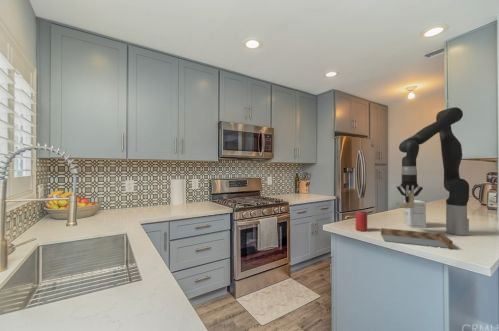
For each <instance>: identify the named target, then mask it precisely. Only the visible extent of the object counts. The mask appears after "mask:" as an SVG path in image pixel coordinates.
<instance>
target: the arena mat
mask: <svg viewBox="0 0 499 331" xmlns="http://www.w3.org/2000/svg"><path fill="white" fill-rule="evenodd" d="M380 236H381V237H382V239H383V241H384V242H387V243H396V244H403V245H413V246H422V247H430V246H431V248H438V247H440V249H441V248H442V249H447V248H448V247H447V246H446V245H445V244H443V243H442V242H441V241H440V240H431V239H421V238H411V237H401V236H392V235H382V234H381V233H380Z"/></svg>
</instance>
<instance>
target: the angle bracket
mask: <svg viewBox="0 0 499 331" xmlns="http://www.w3.org/2000/svg"><path fill="white" fill-rule="evenodd" d="M414 198H415V196H414V194H411V193H410V192H409V193H408V203H407V202H406V201H405V203H404V202H395V205H396V206H398V207H399V208H401V209H404V208H414V200H415V199H414Z"/></svg>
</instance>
